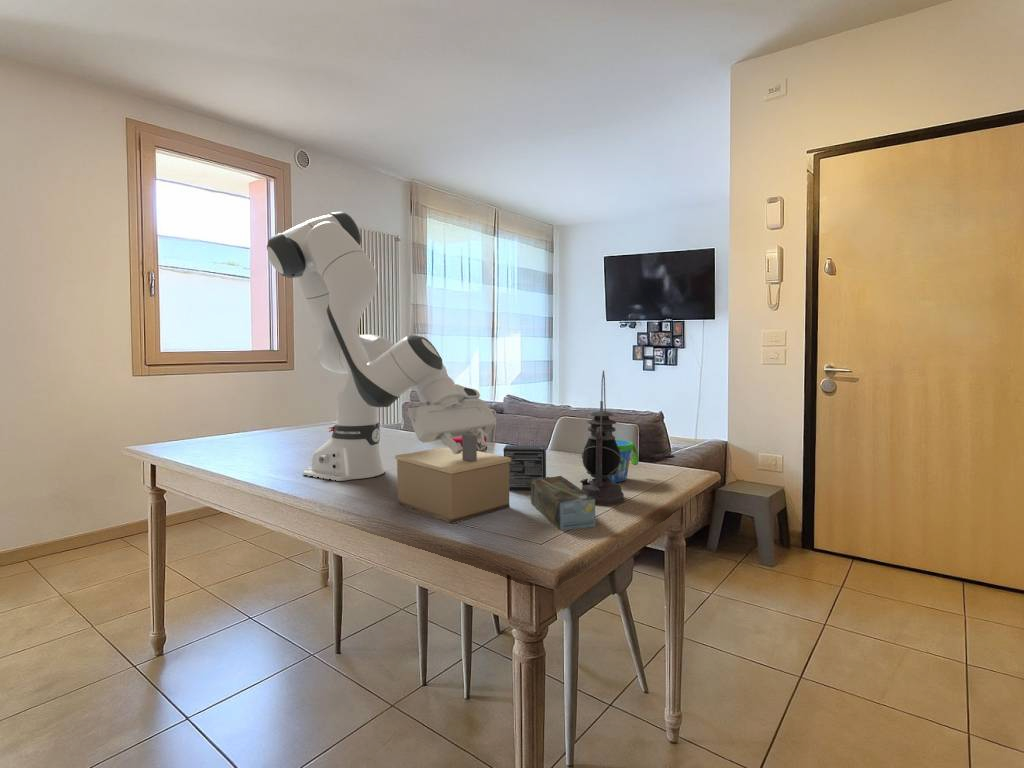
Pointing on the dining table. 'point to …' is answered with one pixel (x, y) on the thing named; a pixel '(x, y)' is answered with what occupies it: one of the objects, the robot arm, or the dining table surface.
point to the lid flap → (454, 457)
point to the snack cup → (625, 460)
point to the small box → (525, 464)
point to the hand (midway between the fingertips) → (471, 450)
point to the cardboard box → (453, 490)
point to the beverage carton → (563, 503)
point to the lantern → (602, 458)
